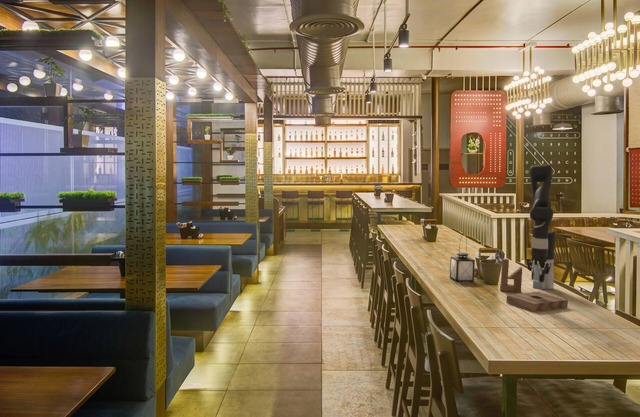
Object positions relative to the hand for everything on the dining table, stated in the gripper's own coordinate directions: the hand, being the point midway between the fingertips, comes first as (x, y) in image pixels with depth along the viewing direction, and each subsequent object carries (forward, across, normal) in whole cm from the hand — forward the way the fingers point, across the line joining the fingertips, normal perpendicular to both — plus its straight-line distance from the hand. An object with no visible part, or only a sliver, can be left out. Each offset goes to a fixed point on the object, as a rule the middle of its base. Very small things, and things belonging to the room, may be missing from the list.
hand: (537, 280), depth 250 cm
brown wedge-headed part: (+13, +27, -9) cm, 31 cm away
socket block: (+12, 0, 0) cm, 12 cm away
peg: (+4, 0, 0) cm, 4 cm away
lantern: (+12, +60, -2) cm, 61 cm away
